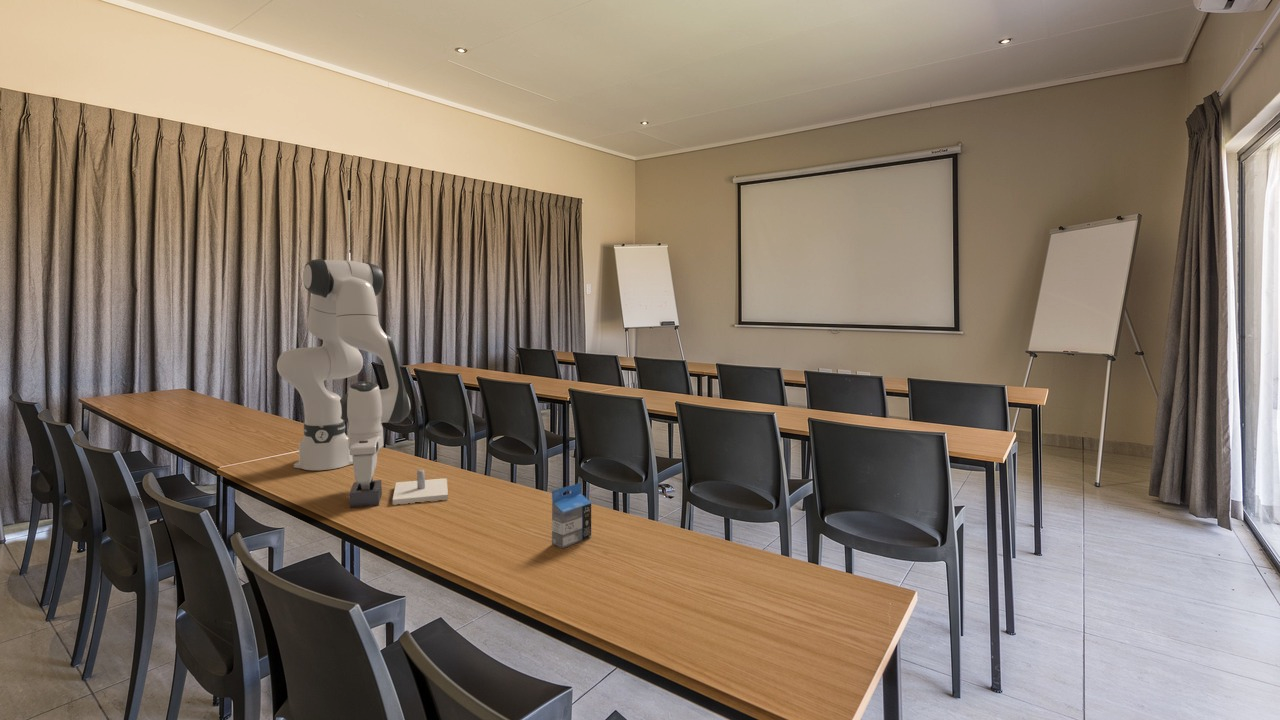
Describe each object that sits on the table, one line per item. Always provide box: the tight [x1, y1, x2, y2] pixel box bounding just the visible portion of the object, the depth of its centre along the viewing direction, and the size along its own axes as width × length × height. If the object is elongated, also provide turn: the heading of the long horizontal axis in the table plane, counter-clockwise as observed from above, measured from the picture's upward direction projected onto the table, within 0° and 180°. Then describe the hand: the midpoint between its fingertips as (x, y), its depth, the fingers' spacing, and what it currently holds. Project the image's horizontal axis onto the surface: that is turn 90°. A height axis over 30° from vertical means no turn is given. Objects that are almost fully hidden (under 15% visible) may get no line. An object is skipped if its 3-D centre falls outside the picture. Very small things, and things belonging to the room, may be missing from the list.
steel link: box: [348, 479, 383, 509], centre depth 163 cm, size 10×7×4 cm
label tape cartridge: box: [551, 482, 592, 549], centre depth 137 cm, size 9×4×12 cm, turn 138°
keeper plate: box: [392, 469, 449, 506], centre depth 170 cm, size 16×14×6 cm
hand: (367, 490), depth 167 cm, fingers open, 8 cm apart
